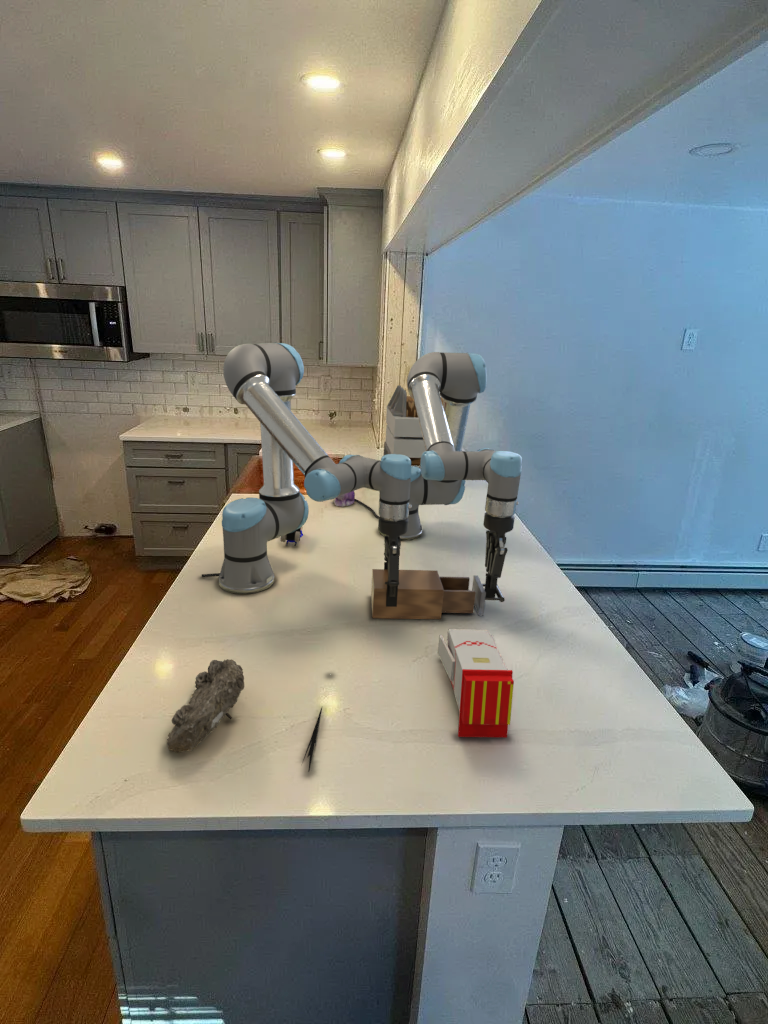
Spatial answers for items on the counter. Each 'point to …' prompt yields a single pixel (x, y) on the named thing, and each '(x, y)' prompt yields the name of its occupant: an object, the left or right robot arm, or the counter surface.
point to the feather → (313, 740)
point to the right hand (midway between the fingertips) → (489, 596)
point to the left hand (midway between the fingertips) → (389, 594)
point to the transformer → (403, 428)
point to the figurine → (345, 499)
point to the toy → (478, 682)
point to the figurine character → (292, 537)
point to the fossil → (206, 705)
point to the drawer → (465, 595)
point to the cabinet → (408, 595)
